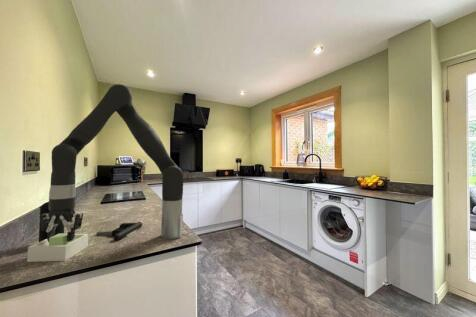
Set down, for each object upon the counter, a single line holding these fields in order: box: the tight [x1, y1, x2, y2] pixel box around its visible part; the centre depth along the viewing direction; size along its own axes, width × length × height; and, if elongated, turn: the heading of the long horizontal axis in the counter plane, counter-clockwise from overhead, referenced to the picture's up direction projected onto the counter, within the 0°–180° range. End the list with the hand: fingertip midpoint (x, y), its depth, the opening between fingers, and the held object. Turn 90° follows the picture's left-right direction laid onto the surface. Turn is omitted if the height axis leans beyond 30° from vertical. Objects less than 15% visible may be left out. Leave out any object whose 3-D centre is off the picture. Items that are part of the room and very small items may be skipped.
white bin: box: [26, 233, 89, 263], centre depth 73 cm, size 12×12×5 cm
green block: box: [49, 232, 72, 246], centre depth 73 cm, size 4×4×6 cm
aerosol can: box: [38, 201, 65, 242], centre depth 82 cm, size 8×8×20 cm
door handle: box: [96, 221, 143, 241], centre depth 96 cm, size 3×20×16 cm
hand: (60, 241), depth 73 cm, fingers open, 6 cm apart
